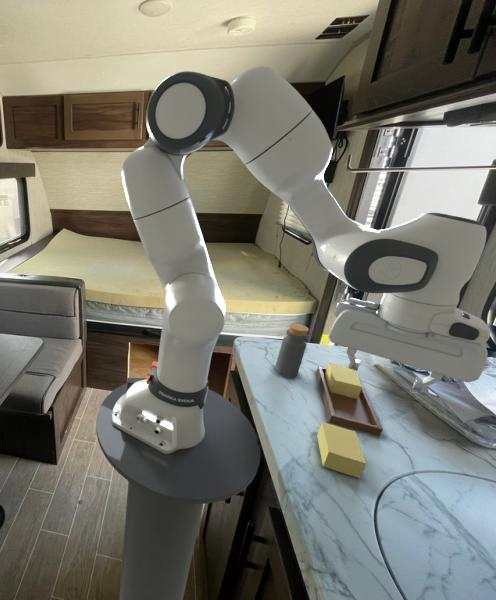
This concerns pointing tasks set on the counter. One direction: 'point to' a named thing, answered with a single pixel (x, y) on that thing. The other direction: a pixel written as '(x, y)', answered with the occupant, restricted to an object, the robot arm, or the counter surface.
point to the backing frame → (349, 408)
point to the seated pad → (343, 381)
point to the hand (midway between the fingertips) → (383, 378)
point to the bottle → (292, 351)
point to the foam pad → (340, 450)
